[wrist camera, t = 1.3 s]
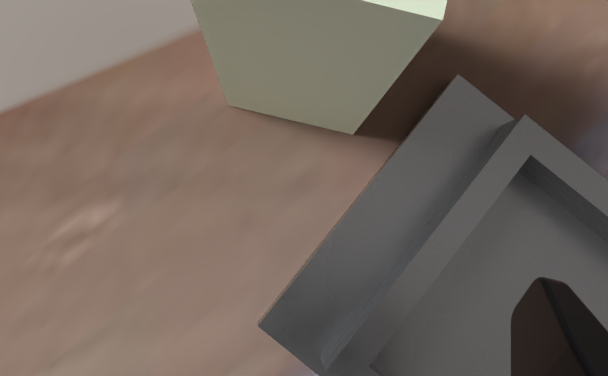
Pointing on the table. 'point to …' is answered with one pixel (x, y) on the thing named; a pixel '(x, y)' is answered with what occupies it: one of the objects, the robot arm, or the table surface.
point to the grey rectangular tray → (448, 248)
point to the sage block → (314, 53)
